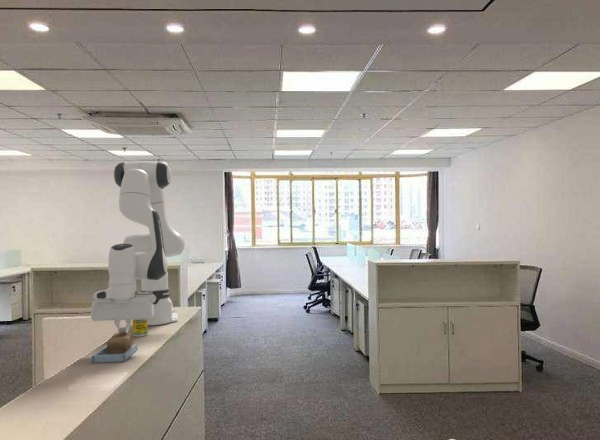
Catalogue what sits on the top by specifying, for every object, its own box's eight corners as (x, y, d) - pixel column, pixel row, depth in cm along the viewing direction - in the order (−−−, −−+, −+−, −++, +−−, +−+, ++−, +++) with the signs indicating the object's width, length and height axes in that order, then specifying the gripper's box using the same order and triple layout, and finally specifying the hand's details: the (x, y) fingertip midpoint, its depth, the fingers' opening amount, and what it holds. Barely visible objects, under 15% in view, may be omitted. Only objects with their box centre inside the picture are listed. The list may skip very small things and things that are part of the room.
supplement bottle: (145, 332, 177) (145, 308, 177) (149, 335, 173) (149, 310, 173) (131, 334, 174) (131, 309, 174) (134, 337, 170) (134, 311, 170)
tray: (107, 350, 152) (107, 344, 152) (137, 349, 153) (137, 343, 153) (91, 363, 139) (91, 356, 139) (125, 361, 139) (124, 355, 139)
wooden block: (115, 333, 154) (106, 342, 146) (133, 332, 155) (125, 341, 147) (115, 344, 155) (107, 354, 147) (133, 343, 155) (126, 353, 147)
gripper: (156, 289, 158) (156, 329, 157) (95, 291, 156) (96, 331, 156) (151, 292, 151) (152, 333, 151) (88, 294, 150) (89, 336, 150)
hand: (123, 332), depth 154 cm, fingers closed
